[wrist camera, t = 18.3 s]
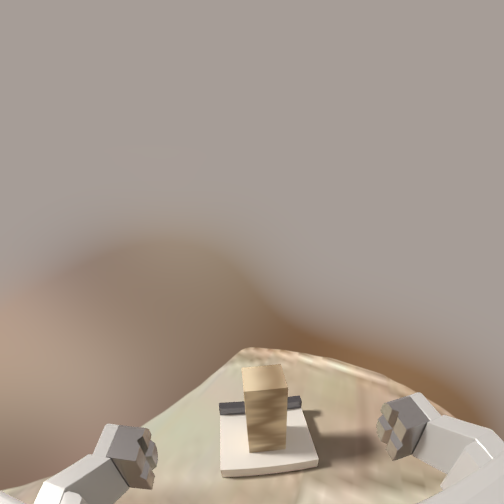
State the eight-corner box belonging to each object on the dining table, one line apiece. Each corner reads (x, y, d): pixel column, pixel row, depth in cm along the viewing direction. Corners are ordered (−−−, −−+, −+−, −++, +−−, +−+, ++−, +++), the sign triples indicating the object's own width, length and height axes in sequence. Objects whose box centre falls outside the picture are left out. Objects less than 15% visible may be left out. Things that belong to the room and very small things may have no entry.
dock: (222, 477, 30) (219, 464, 29) (221, 417, 43) (219, 402, 42) (317, 466, 31) (319, 452, 30) (298, 410, 44) (299, 395, 43)
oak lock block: (249, 452, 33) (243, 391, 30) (246, 429, 38) (241, 367, 35) (285, 448, 33) (287, 387, 31) (280, 425, 38) (280, 364, 35)
